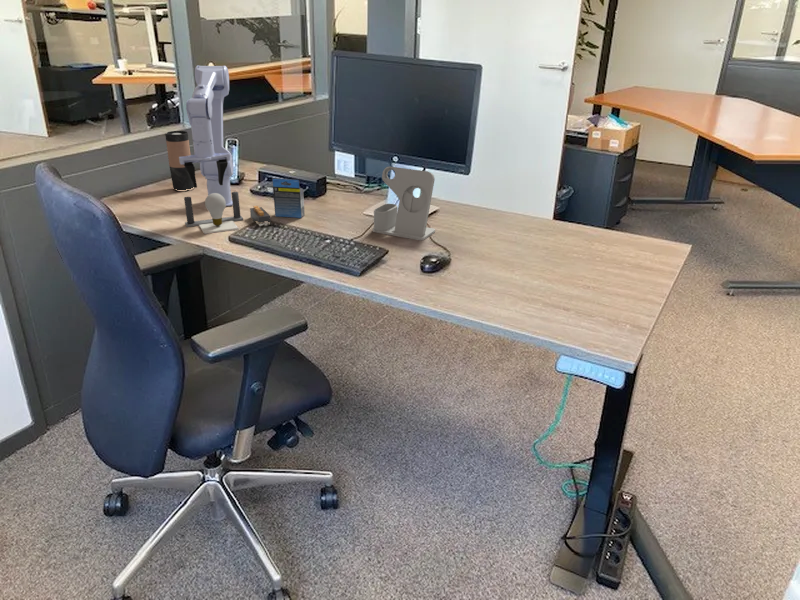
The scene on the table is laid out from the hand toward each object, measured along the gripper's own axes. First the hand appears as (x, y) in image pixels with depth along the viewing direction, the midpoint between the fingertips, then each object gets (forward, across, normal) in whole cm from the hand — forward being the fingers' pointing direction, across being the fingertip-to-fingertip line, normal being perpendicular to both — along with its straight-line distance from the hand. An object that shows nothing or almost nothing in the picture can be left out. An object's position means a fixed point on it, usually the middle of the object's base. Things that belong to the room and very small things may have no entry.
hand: (208, 185), depth 191 cm
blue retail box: (+11, +23, -7) cm, 26 cm away
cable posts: (+10, 0, -4) cm, 11 cm away
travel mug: (+11, -2, +39) cm, 40 cm away
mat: (+10, 0, -10) cm, 14 cm away
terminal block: (+10, +13, -9) cm, 19 cm away
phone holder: (+11, +49, -35) cm, 61 cm away
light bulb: (+10, 0, -10) cm, 14 cm away
